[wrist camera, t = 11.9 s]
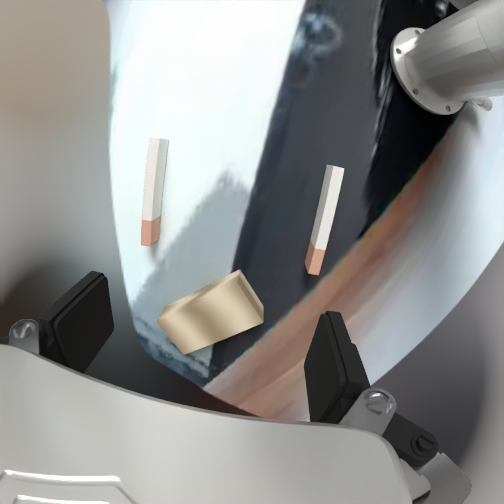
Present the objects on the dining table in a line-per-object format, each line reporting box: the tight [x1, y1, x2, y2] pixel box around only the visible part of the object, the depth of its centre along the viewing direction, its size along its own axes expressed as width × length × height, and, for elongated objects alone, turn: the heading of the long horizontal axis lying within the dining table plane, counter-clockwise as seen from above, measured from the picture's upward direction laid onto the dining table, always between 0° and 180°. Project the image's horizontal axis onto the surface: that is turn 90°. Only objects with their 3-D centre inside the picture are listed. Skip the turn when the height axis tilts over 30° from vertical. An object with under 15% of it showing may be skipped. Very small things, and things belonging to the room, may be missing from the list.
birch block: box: [157, 270, 263, 354], centre depth 34 cm, size 12×6×4 cm, turn 119°
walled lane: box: [141, 138, 344, 275], centre depth 29 cm, size 20×12×3 cm, turn 80°
